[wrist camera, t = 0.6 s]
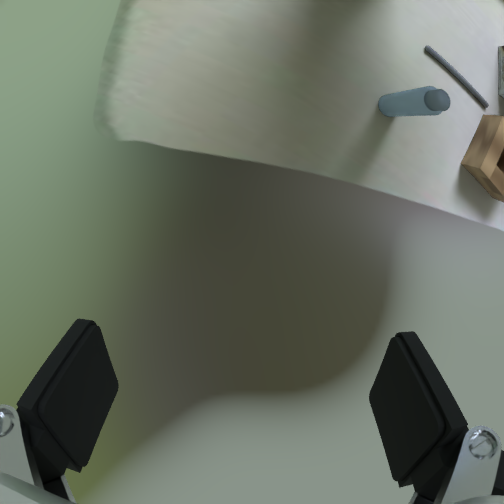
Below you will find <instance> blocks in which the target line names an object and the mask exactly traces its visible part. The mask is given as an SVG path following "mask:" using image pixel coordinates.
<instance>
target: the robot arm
mask: <svg viewBox="0 0 504 504" xmlns="http://www.w3.org/2000/svg"><path fill="white" fill-rule="evenodd" d="M117 391H118V380H117V378H116V375H115V372H114V369H113V366H112V363H111V361H110V358H109V355H108V351H107V348H106V345H105V342H104V339H103V335H102V332H101V329H100V327H99V326H97V325H96V323H95V322H94V321H92V320H85V319H77V320H76V321H75V322H74V324H73V325H72V326H71V327H70V329H69V330H68V331H67V333H66V334H65V335H64V337H63V338H62V339H61V341H60V342H59V344H58V345H57V346H56V347H55V349H54V350H53V351H52V353H51V354H50V355H49V357H48V358H47V360H46V361H45V363H44V364H43V365H42V367H41V368H40V370H39V371H38V372H37V374H36V375H35V377H34V378H33V380H32V381H31V383H30V384H29V386H28V387H27V389H26V390H25V392H24V393H23V395H22V396H21V398H20V400H19V401H18V403H17V406H18V408H17V410H15V409H14V408H13V407H11V406H9V405H0V504H76V502H75V499H74V497H73V495H72V493H71V490H70V488H69V485H68V483H67V480H66V477H65V475H64V473H65V470H66V468H69V469H71V470H74V471H77V472H79V473H80V472H81V469H82V467H85V466H86V465H87V464H88V461H89V459H90V456H91V454H92V451H93V449H94V446H95V444H96V441H97V438H98V436H99V434H100V431H101V429H102V426H103V424H104V422H105V419H106V417H107V415H108V412H109V410H110V408H111V405H112V403H113V401H114V398H115V396H116V394H117ZM369 395H370V396H369V401H370V404H371V407H372V410H373V414H374V416H375V420H376V423H377V426H378V429H379V433H380V436H381V439H382V442H383V446H384V449H385V453H386V456H387V459H388V463H389V466H390V470H391V473H392V477H393V479H394V480H395V481H398V484H399V487H403V486H407V485H411V484H413V486H414V489H415V492H414V494H413V496H412V498H411V500H410V502H409V504H504V451H502V450H501V441H500V438H499V436H498V435H497V433H495V431H493V430H492V429H490V428H488V427H485V426H475V427H473V428H471V429H470V430H469V429H468V427H467V425H468V423H467V421H466V420H465V418H464V416H463V414H462V412H461V410H460V408H459V406H458V404H457V402H456V401H455V399H454V397H453V396H452V393H451V391H450V390H449V388H448V386H447V385H446V383H445V381H444V379H443V378H442V376H441V374H440V372H439V371H438V369H437V367H436V365H435V364H434V362H433V360H432V359H431V357H430V355H429V354H428V352H427V350H426V349H425V347H424V346H423V344H422V342H421V341H420V339H419V338H418V336H417V334H416V333H415V332H399V333H397V334H396V335H395V337H393V338H391V340H390V342H389V345H388V348H387V351H386V354H385V356H384V359H383V361H382V364H381V366H380V369H379V372H378V374H377V377H376V379H375V381H374V384H373V386H372V388H371V391H370V394H369Z"/></svg>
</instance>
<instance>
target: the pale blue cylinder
mask: <svg viewBox="0 0 504 504" xmlns="http://www.w3.org/2000/svg"><path fill="white" fill-rule="evenodd" d="M378 105H379V109H380V111H381V112H382V113H383V114H384V115H385V116H388V117H393V116H422V115H439V114H440V113H441V112H442V111H446V110H447V109H448V108H449V107H450V98H449V96H448V94H447V93H446V92H445V91H444V90H442V89H436V88H435V87H432V86H428V87H422V88H417V89H412V90H406V91H402V92H397V93H392V94H387V95H384V96H382V97H381V98H380V100H379V104H378Z"/></svg>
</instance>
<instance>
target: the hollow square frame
mask: <svg viewBox="0 0 504 504" xmlns="http://www.w3.org/2000/svg"><path fill="white" fill-rule="evenodd" d="M500 155H501V157H500ZM499 158H500V159H499ZM498 160H499V162H498ZM497 162H498V164H497ZM461 164H462V165H463V166H464V167H465V168H466V169H467V170H468V171H469V172H470V173H471V174H472V175H473V176H474V177H475V178H476V179H477V181H478V182H479V183H480V184H481V185H482V186H483V187H484V188H485V189H486V190H487V192H488V193H489V194H490V195H491V196H492V197H493V198H495V199H497V200H499V201H502V202H504V117H503V116H498V115H483V117H482V119H481V121H480V124H479V126H478V128H477V130H476V133H475V135H474V137H473V139H472V141H471V144H470V146H469V148H468V150H467V152H466V154H465V156H464V158H463V160H462V162H461ZM496 164H497V165H496Z"/></svg>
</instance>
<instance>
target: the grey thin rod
mask: <svg viewBox="0 0 504 504" xmlns="http://www.w3.org/2000/svg"><path fill="white" fill-rule="evenodd" d="M425 49H426V50H427V51H428V52H429V53H430V54H431V55H433V56H434V57H435V58H436V59H437V60H438V61H439V62H441V63H442V64H443V65H444V66H445V67H446V68H447V69H448V70H449V71H450V72H451V73H452V74H454V75H455V76H456V77H457V78H458V79H459V80H460V81H461V82H462V83H463V84H464V85H465V86H466V87H467V88H468V89H469V90H470V91H471V92H472V93H473V95H474V96H475V97H476V98H477V99H478V100H479V101H480V102H481V103H482V104H483V105H484V107H486V108H487V107H488V106H489V105H488V103H487V102H486V101H485V100H484V99H483V97H482V96H481V95H480V94H479V93H478V92H477V91H476V90H475V89H474V88H473V87H472V86H471V85H470V84H469V83H468V82H467V81H466V79H465V78H464V77H463V76H461V75H460V74H459V73H458V72H457V71H456V70H455V69H454V68H453V67H452V66H451V65H450V64H449V63H448V62H447V61H446V60H445V59H443V58H442V57H441V56H440V55H439V54H438V53H437V52H436V51H434V50H433V49H432V48H431V47H430V46H426V47H425Z"/></svg>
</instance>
